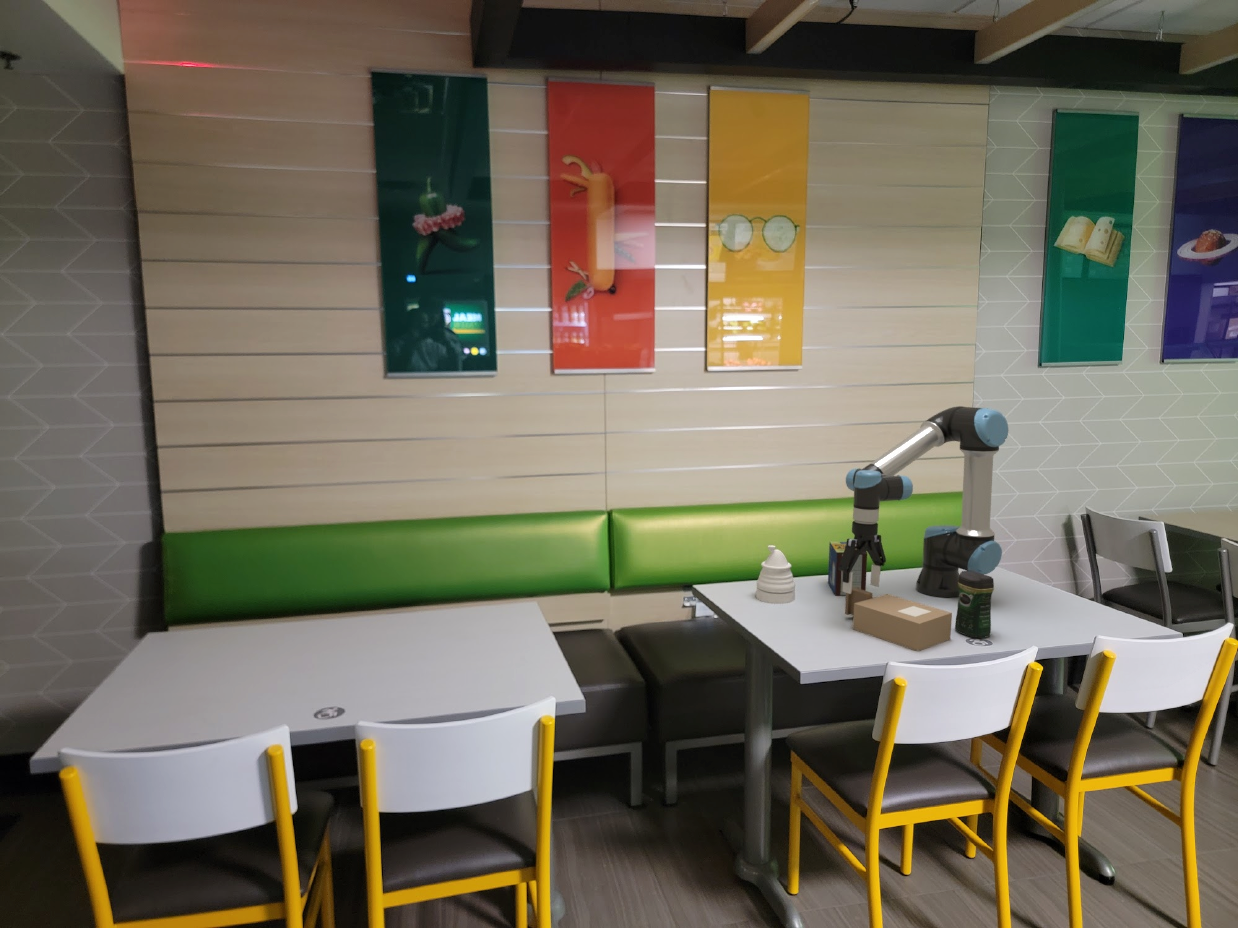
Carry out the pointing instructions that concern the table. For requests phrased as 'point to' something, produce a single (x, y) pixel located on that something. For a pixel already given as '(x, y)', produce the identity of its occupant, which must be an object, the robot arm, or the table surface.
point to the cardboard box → (902, 621)
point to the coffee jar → (974, 604)
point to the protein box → (837, 575)
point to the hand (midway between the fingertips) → (861, 589)
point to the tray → (855, 599)
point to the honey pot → (775, 579)
